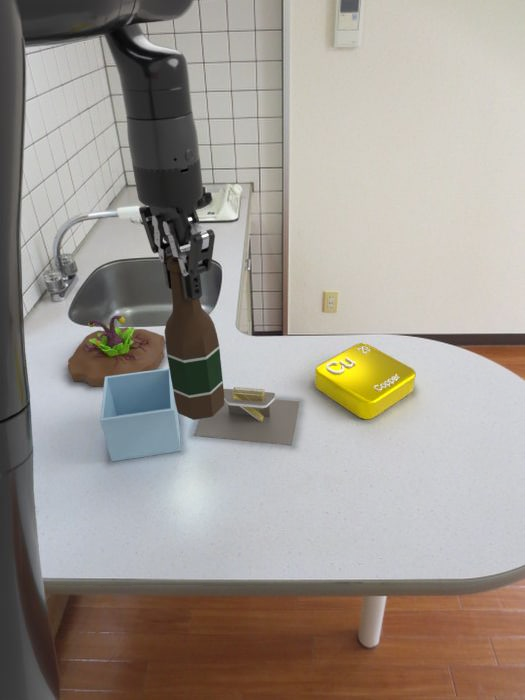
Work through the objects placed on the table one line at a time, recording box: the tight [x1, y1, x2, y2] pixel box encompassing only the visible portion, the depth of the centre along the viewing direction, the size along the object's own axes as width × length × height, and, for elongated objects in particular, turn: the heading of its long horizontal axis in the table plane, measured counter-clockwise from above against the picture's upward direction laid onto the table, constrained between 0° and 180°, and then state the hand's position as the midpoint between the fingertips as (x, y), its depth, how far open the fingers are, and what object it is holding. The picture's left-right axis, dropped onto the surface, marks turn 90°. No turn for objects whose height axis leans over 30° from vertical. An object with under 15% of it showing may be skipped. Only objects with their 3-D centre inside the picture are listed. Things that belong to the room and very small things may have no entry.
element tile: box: [314, 342, 417, 420], centre depth 104 cm, size 15×15×5 cm
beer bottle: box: [164, 256, 225, 421], centre depth 72 cm, size 8×8×24 cm
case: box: [99, 367, 182, 462], centre depth 94 cm, size 12×12×10 cm
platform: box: [193, 386, 300, 446], centre depth 97 cm, size 12×18×7 cm, turn 80°
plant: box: [67, 315, 166, 387], centre depth 113 cm, size 20×20×11 cm
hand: (184, 292), depth 68 cm, fingers closed on beer bottle, 4 cm apart
